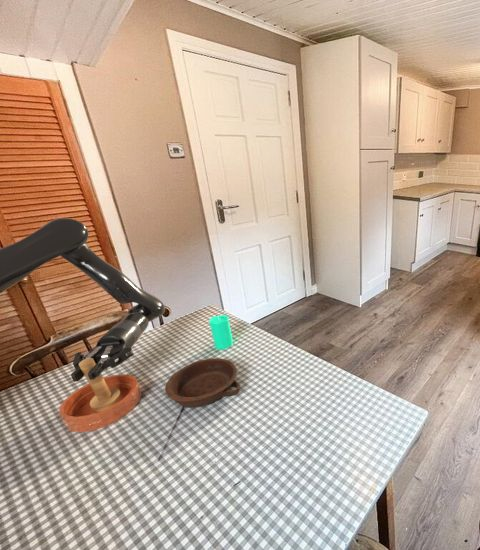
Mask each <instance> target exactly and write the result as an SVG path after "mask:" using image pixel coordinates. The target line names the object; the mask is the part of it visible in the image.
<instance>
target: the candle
mask: <svg viewBox="0 0 480 550" xmlns="http://www.w3.org/2000/svg"><path fill="white" fill-rule="evenodd" d="M208 322H209V327H210V331H211V336H212V339H213V344H214V347H215V349H216V350H226V349H228V348H230V347H232V346H233V344H234V339H233V334H232V330H231V324H230V319H229V316H228V315H227V314H221V315H214V316H212V317H210V318H209V320H208Z"/></svg>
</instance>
